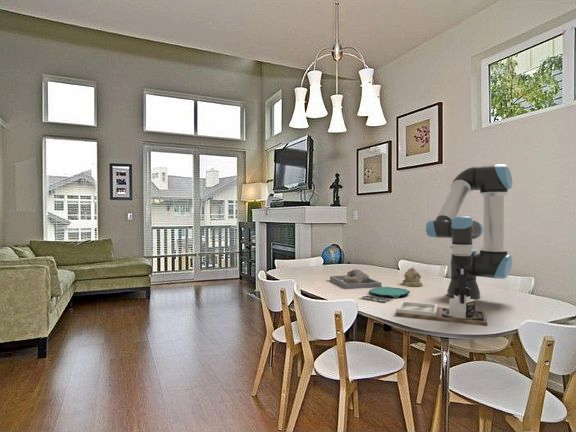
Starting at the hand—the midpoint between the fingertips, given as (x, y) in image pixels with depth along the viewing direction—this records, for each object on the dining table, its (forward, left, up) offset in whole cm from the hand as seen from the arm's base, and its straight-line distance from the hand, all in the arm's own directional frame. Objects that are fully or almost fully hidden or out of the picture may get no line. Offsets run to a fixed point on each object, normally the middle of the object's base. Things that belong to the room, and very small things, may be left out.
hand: (462, 307), depth 152 cm
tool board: (+7, -5, -4) cm, 9 cm away
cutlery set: (+12, -43, -4) cm, 45 cm away
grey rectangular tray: (+14, -78, -4) cm, 79 cm away
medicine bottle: (0, 0, -4) cm, 4 cm away
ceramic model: (-18, -66, -4) cm, 69 cm away
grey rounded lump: (+14, -77, -4) cm, 78 cm away
